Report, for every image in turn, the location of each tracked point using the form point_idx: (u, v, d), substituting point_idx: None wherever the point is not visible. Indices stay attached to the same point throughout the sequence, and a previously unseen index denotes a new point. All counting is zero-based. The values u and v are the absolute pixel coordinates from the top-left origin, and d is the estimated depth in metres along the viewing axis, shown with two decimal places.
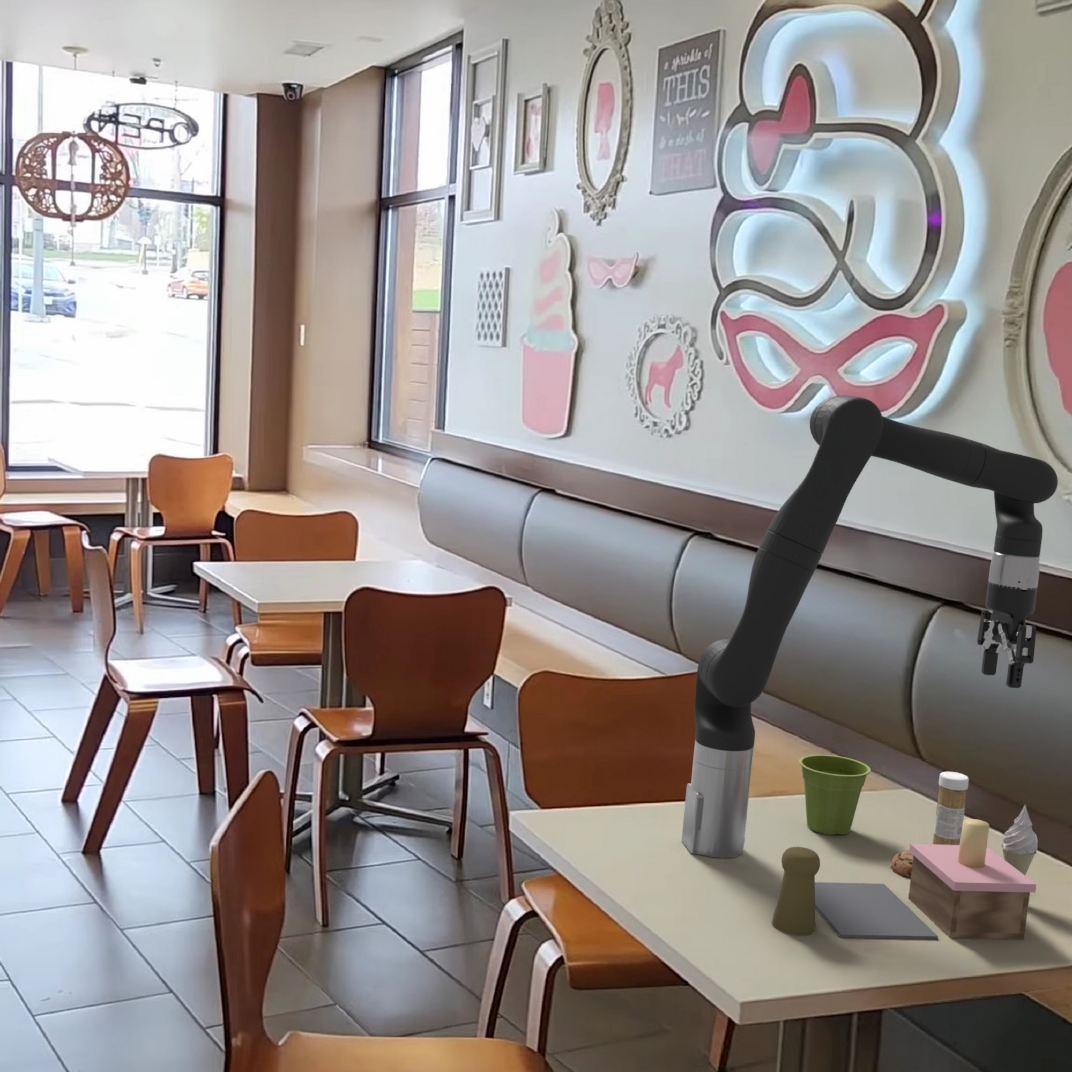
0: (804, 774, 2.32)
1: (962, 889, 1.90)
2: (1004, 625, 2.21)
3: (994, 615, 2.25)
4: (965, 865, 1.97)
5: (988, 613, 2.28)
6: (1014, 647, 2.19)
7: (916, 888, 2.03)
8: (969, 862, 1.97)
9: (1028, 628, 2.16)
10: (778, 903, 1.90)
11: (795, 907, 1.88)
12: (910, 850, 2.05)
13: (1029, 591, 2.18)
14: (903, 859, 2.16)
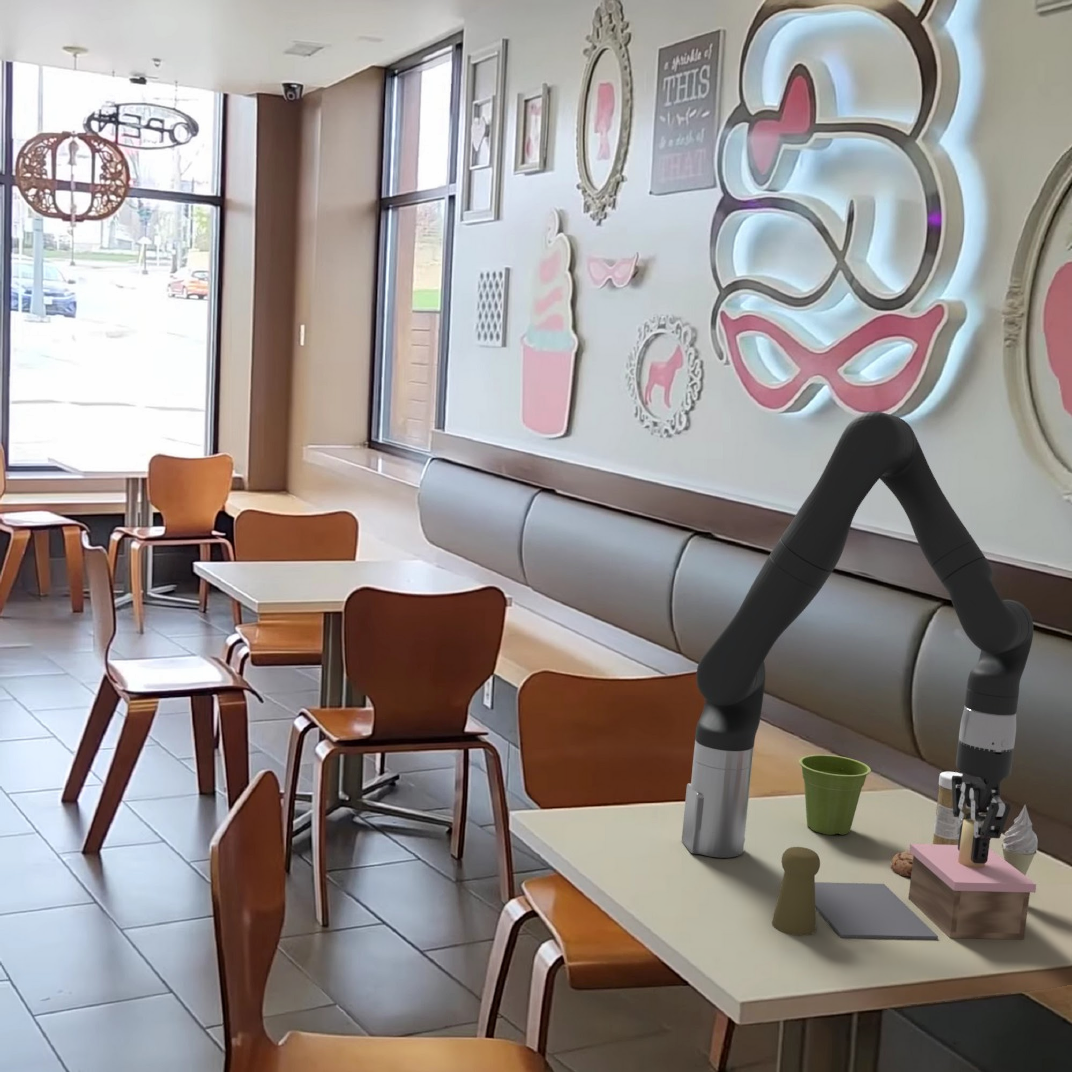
0: (804, 774, 2.32)
1: (962, 889, 1.90)
2: (977, 792, 1.95)
3: (966, 775, 1.99)
4: (965, 865, 1.97)
5: (959, 778, 2.02)
6: (982, 819, 1.95)
7: (916, 888, 2.03)
8: (969, 862, 1.97)
9: (1001, 808, 1.91)
10: (778, 903, 1.90)
11: (795, 907, 1.88)
12: (910, 850, 2.05)
13: (1004, 753, 1.93)
14: (903, 859, 2.16)
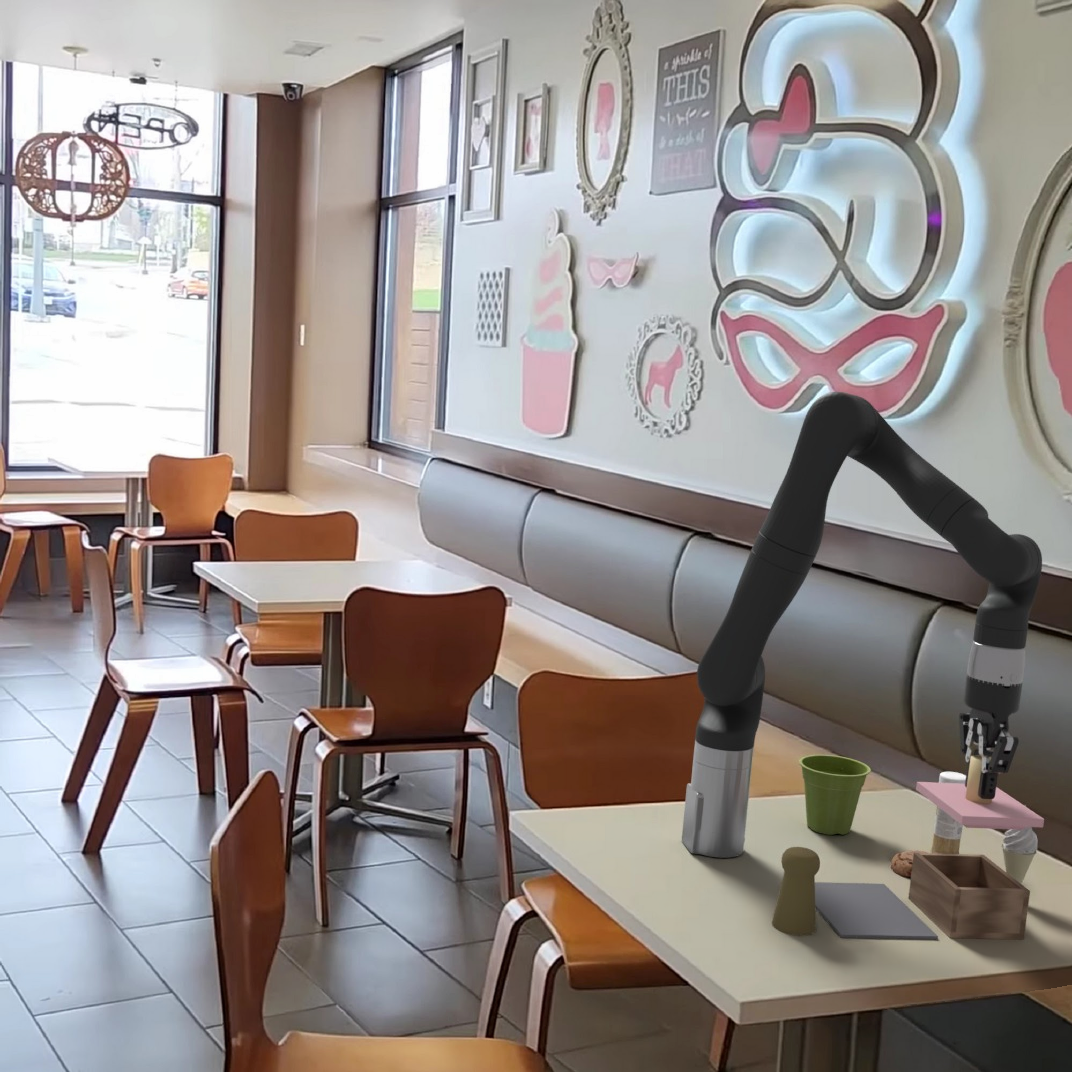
0: (804, 774, 2.32)
1: (970, 823, 1.89)
2: (985, 727, 1.94)
3: (973, 711, 1.98)
4: (972, 801, 1.96)
5: (966, 715, 2.01)
6: (990, 754, 1.94)
7: (916, 888, 2.03)
8: (976, 798, 1.96)
9: (1009, 742, 1.89)
10: (778, 903, 1.90)
11: (795, 907, 1.88)
12: (917, 788, 2.03)
13: (1013, 688, 1.92)
14: (903, 859, 2.16)
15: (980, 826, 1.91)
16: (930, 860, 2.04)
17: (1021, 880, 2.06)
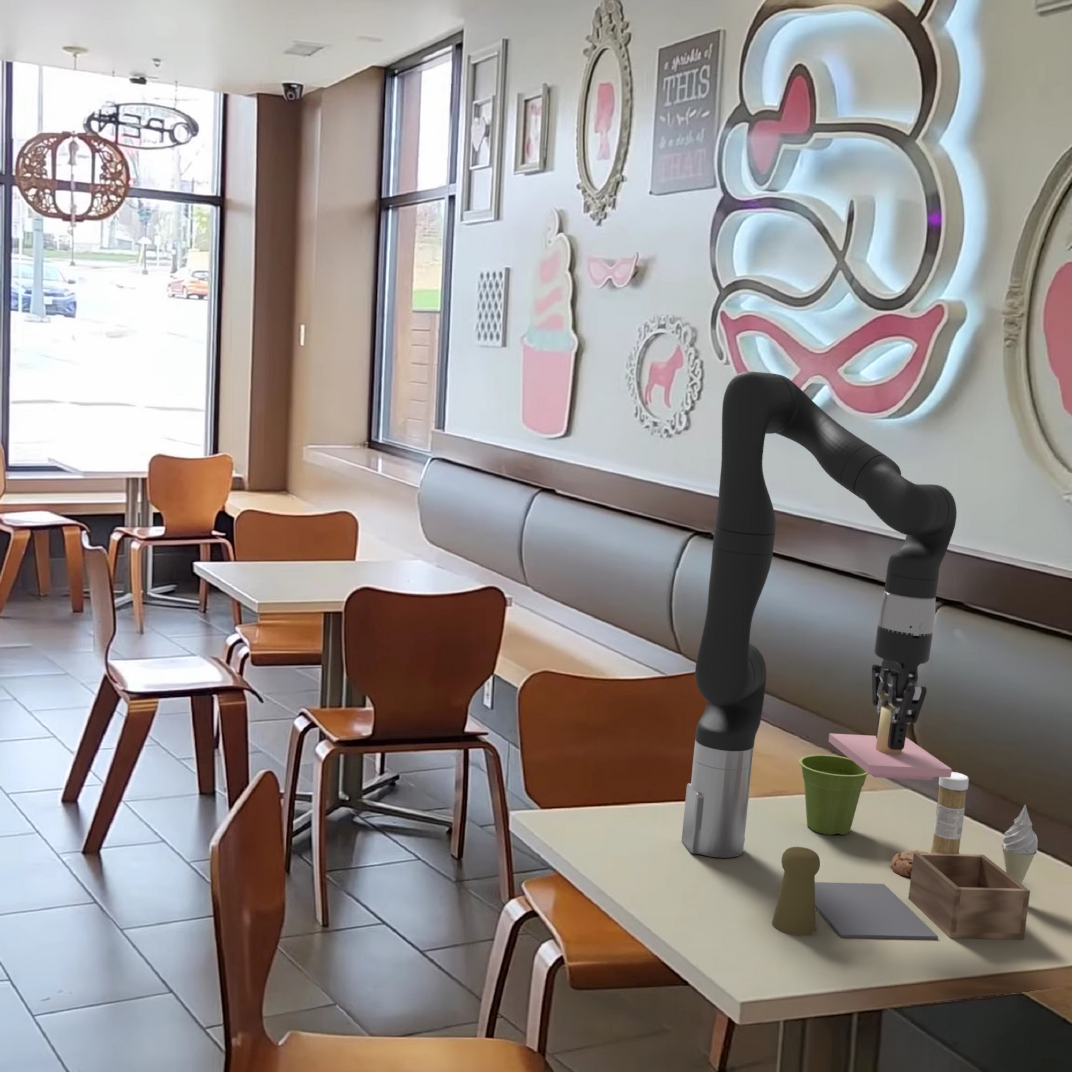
0: (804, 774, 2.32)
1: (876, 772, 1.88)
2: (894, 677, 1.93)
3: (885, 662, 1.97)
4: (882, 752, 1.95)
5: (879, 667, 2.00)
6: (899, 705, 1.93)
7: (916, 888, 2.03)
8: (886, 749, 1.95)
9: (917, 691, 1.89)
10: (778, 903, 1.90)
11: (795, 907, 1.88)
12: (829, 740, 2.03)
13: (922, 637, 1.91)
14: (903, 859, 2.16)
15: (888, 776, 1.91)
16: (930, 860, 2.04)
17: (1021, 880, 2.06)
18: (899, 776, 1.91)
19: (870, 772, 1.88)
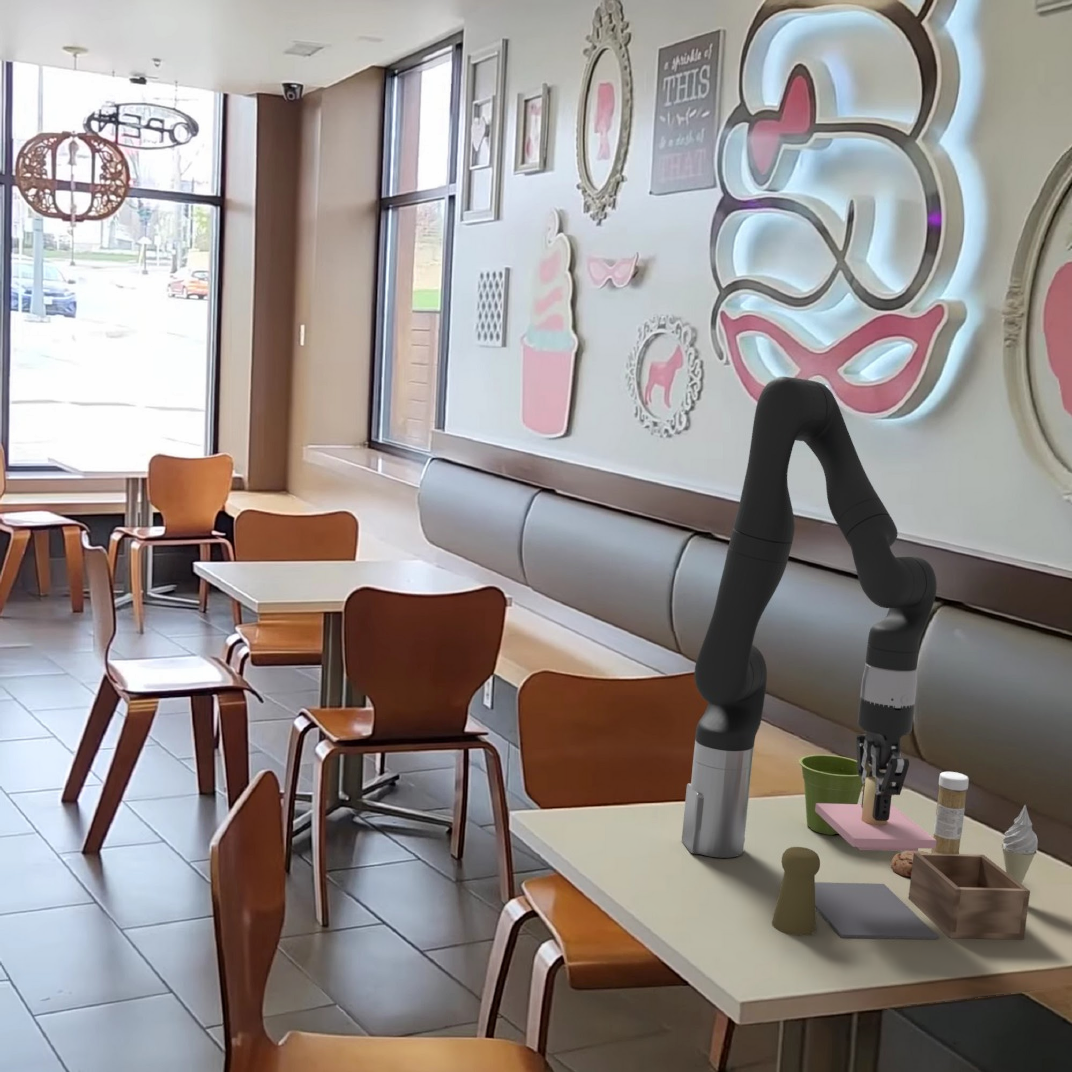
0: (804, 774, 2.32)
1: (861, 845, 1.90)
2: (877, 748, 1.94)
3: (868, 733, 1.98)
4: (867, 823, 1.96)
5: (863, 737, 2.02)
6: (883, 776, 1.94)
7: (916, 888, 2.03)
8: (871, 820, 1.96)
9: (900, 764, 1.90)
10: (778, 903, 1.90)
11: (795, 907, 1.88)
12: (816, 809, 2.04)
13: (904, 709, 1.92)
14: (903, 859, 2.16)
15: (873, 848, 1.92)
16: (930, 860, 2.04)
17: (1021, 880, 2.06)
18: (884, 848, 1.92)
19: (855, 845, 1.89)
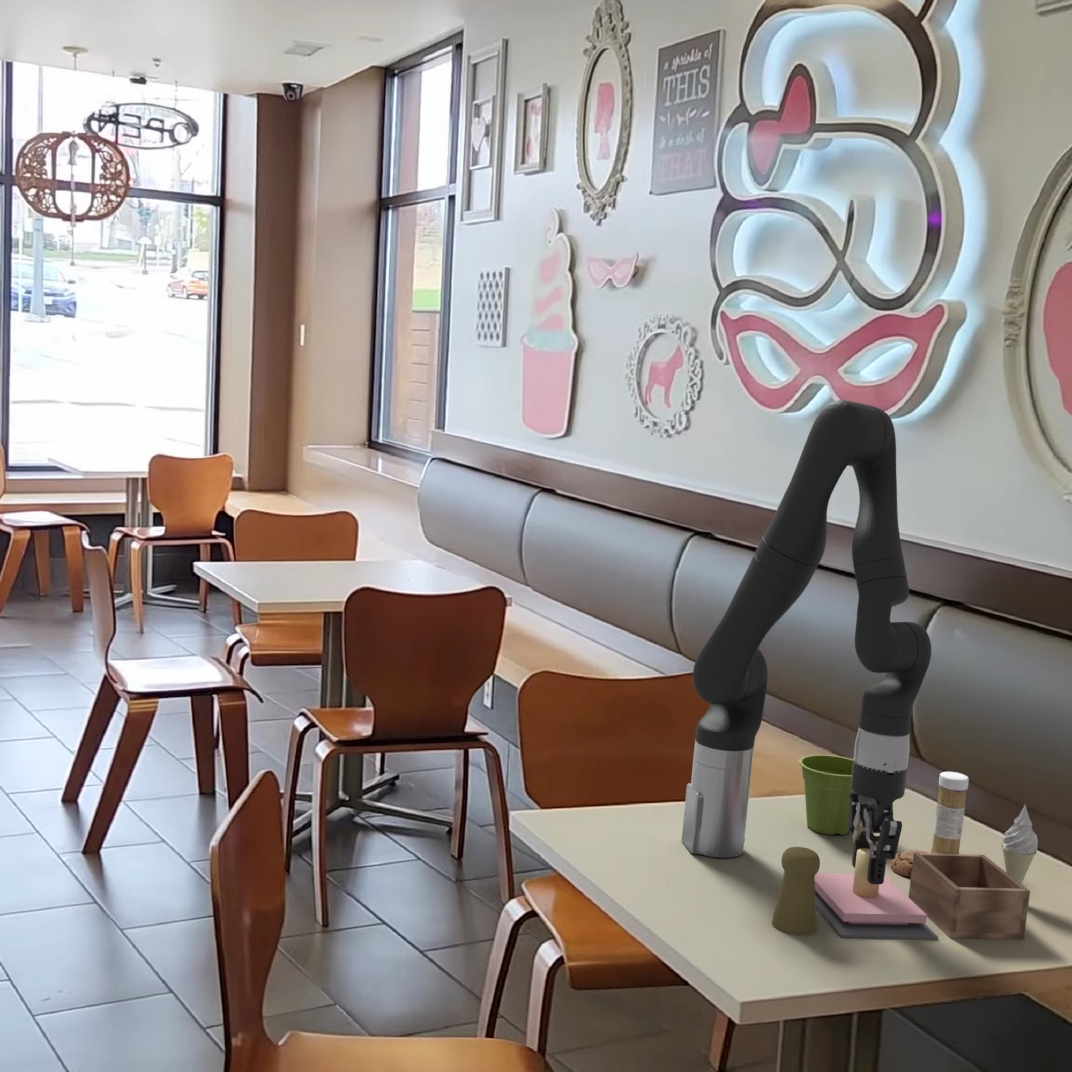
0: (804, 774, 2.32)
1: (852, 920, 1.91)
2: (870, 811, 1.95)
3: (861, 795, 1.99)
4: (858, 895, 1.97)
5: (856, 795, 2.03)
6: (877, 839, 1.94)
7: (916, 888, 2.03)
8: (862, 892, 1.97)
9: (893, 826, 1.91)
10: (778, 903, 1.90)
11: (795, 907, 1.88)
12: None
13: (897, 774, 1.93)
14: (903, 859, 2.16)
15: (863, 922, 1.93)
16: (930, 860, 2.04)
17: (1021, 880, 2.06)
18: (875, 922, 1.93)
19: (845, 920, 1.91)
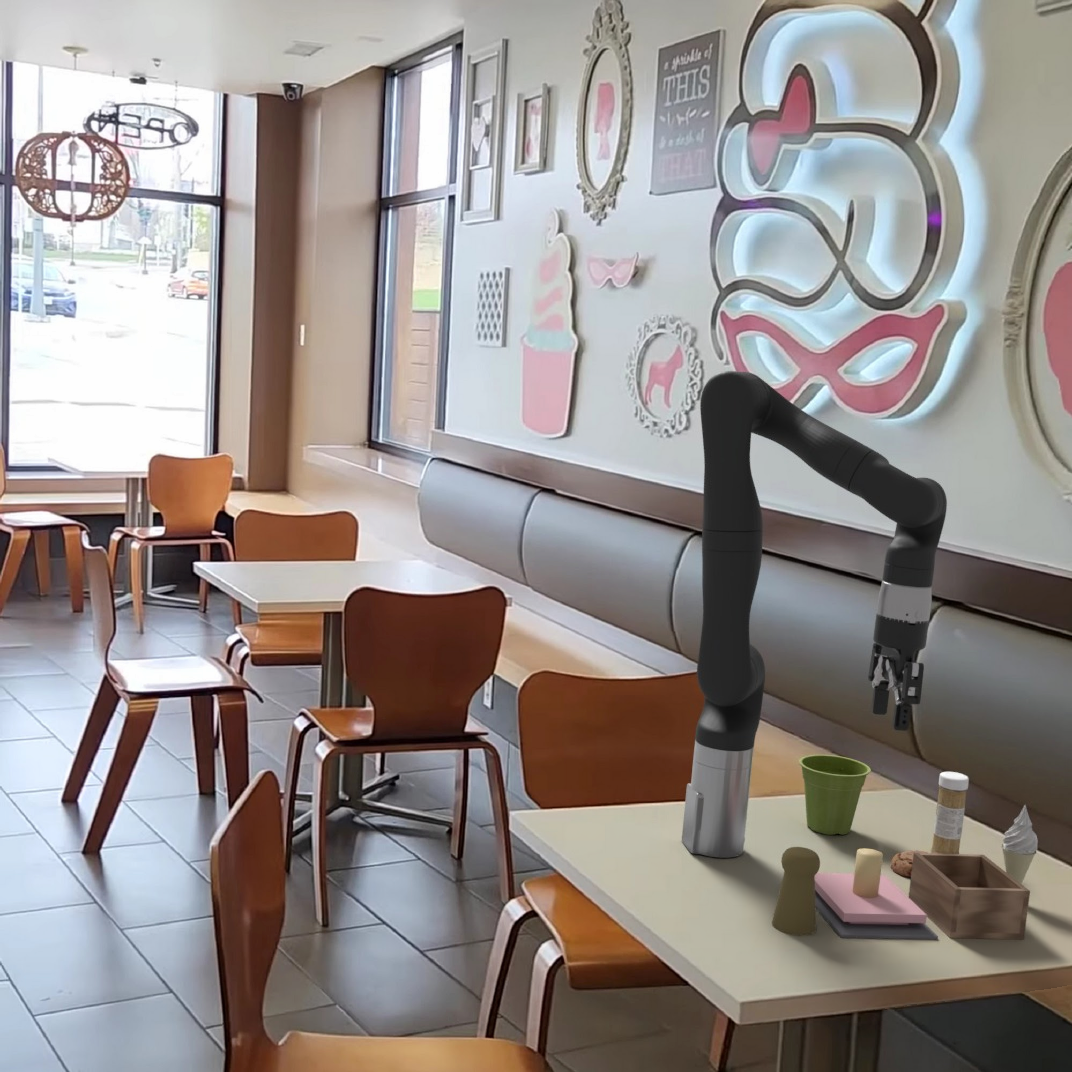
0: (804, 774, 2.32)
1: (852, 920, 1.91)
2: (892, 661, 2.01)
3: (884, 649, 2.05)
4: (858, 895, 1.97)
5: (879, 647, 2.08)
6: (901, 686, 1.99)
7: (916, 888, 2.03)
8: (862, 892, 1.97)
9: (915, 666, 1.96)
10: (778, 903, 1.90)
11: (795, 907, 1.88)
12: None
13: (918, 625, 1.99)
14: (903, 859, 2.16)
15: (863, 922, 1.93)
16: (930, 860, 2.04)
17: (1021, 880, 2.06)
18: (875, 922, 1.93)
19: (845, 920, 1.91)
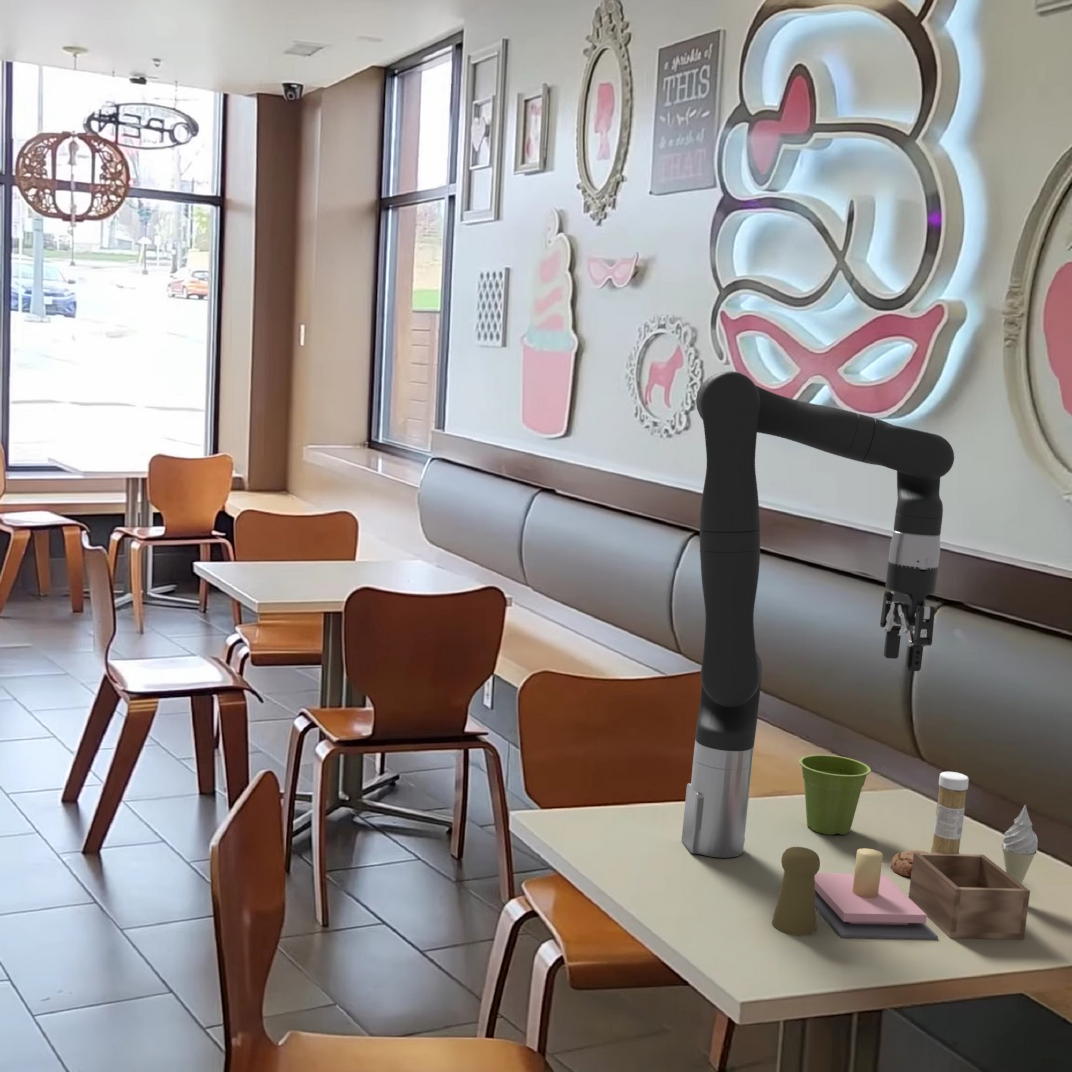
0: (804, 774, 2.32)
1: (852, 920, 1.91)
2: (904, 606, 2.13)
3: (895, 596, 2.17)
4: (858, 895, 1.97)
5: (890, 594, 2.21)
6: (913, 629, 2.12)
7: (916, 888, 2.03)
8: (862, 892, 1.97)
9: (926, 609, 2.08)
10: (778, 903, 1.90)
11: (795, 907, 1.88)
12: None
13: (928, 571, 2.11)
14: (903, 859, 2.16)
15: (863, 922, 1.93)
16: (930, 860, 2.04)
17: (1021, 880, 2.06)
18: (875, 922, 1.93)
19: (845, 920, 1.91)
